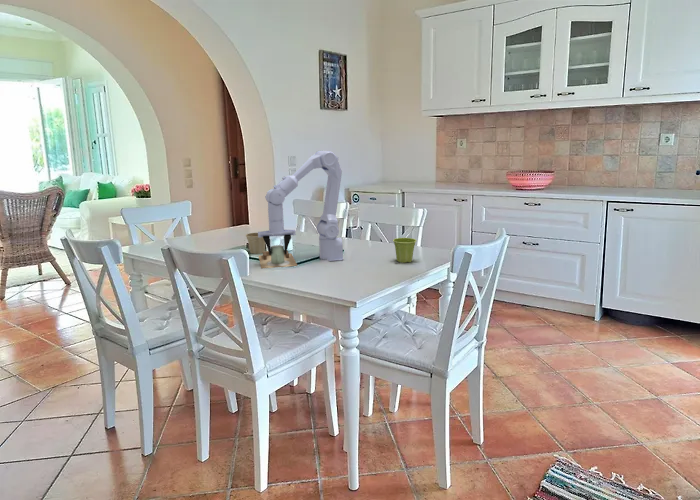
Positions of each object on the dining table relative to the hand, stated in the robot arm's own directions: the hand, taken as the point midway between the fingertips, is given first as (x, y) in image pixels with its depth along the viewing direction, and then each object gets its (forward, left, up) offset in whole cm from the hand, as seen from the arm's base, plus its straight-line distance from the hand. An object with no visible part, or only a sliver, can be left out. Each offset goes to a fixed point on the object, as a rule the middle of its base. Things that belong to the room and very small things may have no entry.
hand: (277, 254), depth 204 cm
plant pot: (-50, +7, -5) cm, 51 cm away
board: (0, -6, -5) cm, 7 cm away
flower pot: (+7, -24, -5) cm, 25 cm away
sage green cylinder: (0, 0, -4) cm, 4 cm away
